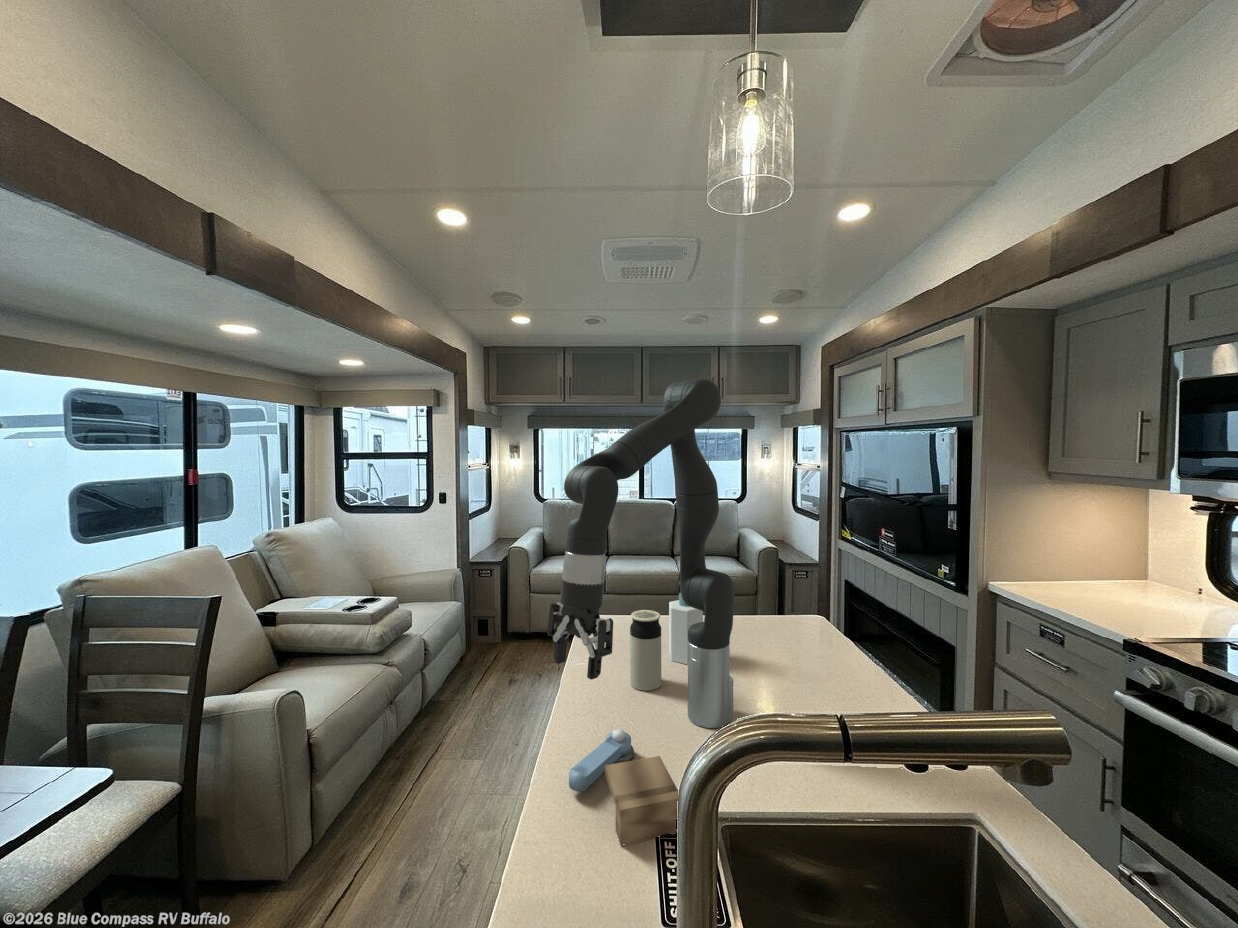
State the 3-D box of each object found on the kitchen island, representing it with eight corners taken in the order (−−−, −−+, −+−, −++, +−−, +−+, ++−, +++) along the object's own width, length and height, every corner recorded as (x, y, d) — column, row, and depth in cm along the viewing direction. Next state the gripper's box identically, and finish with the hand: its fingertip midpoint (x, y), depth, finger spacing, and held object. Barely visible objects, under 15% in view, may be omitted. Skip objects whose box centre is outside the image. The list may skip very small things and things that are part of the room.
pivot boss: (628, 744, 97) (628, 738, 97) (637, 763, 91) (637, 757, 91) (600, 749, 95) (600, 743, 95) (607, 768, 89) (607, 762, 89)
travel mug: (659, 693, 117) (659, 621, 116) (627, 690, 119) (627, 618, 118) (662, 677, 125) (662, 610, 124) (633, 675, 126) (633, 608, 126)
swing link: (615, 737, 97) (615, 722, 96) (636, 746, 94) (636, 730, 94) (561, 783, 83) (561, 765, 83) (583, 795, 80) (583, 777, 80)
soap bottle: (704, 665, 132) (704, 587, 131) (671, 664, 132) (671, 586, 132) (698, 649, 142) (699, 577, 142) (668, 649, 143) (668, 576, 142)
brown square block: (659, 786, 85) (659, 755, 84) (681, 832, 74) (681, 797, 74) (605, 796, 82) (604, 765, 82) (620, 845, 72) (620, 809, 72)
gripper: (627, 583, 82) (619, 678, 82) (571, 568, 92) (564, 653, 91) (597, 588, 77) (588, 690, 76) (541, 572, 86) (533, 662, 86)
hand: (575, 669), depth 84 cm, fingers open, 8 cm apart
